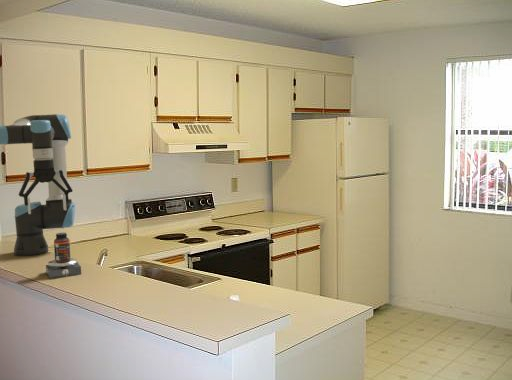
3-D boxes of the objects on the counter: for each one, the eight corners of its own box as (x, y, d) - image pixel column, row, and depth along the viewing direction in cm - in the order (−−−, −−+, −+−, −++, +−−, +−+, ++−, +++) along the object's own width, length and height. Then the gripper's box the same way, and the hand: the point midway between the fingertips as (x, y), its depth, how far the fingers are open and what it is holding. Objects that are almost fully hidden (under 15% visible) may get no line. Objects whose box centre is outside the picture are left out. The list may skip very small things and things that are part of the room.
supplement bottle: (58, 263, 225) (56, 235, 224) (52, 261, 229) (50, 233, 228) (73, 261, 229) (71, 233, 227) (67, 258, 233) (65, 231, 232)
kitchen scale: (46, 272, 232) (45, 260, 231) (77, 268, 237) (76, 256, 237) (49, 278, 222) (48, 266, 221) (81, 274, 227) (80, 262, 226)
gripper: (10, 162, 220) (15, 216, 223) (77, 157, 231) (81, 209, 234) (8, 160, 227) (13, 213, 230) (73, 156, 238) (77, 207, 241)
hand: (47, 211), depth 232 cm, fingers open, 13 cm apart
